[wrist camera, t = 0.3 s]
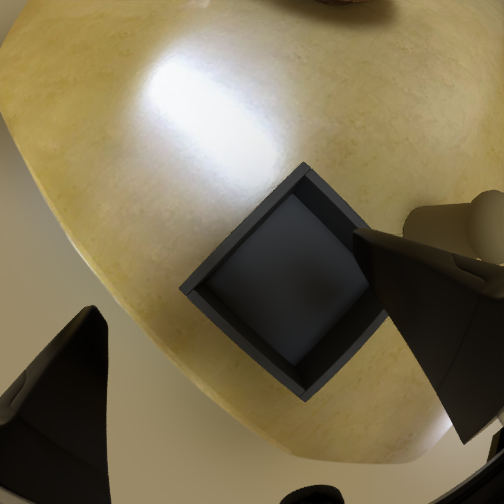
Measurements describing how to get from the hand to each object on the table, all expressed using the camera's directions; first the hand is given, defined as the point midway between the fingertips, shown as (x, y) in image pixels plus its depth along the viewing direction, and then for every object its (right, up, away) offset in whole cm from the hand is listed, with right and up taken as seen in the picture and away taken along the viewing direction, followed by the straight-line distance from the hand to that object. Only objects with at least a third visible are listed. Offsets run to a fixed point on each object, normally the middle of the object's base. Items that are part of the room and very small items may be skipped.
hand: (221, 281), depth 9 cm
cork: (+18, +2, +15) cm, 23 cm away
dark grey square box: (+4, -1, +14) cm, 15 cm away
